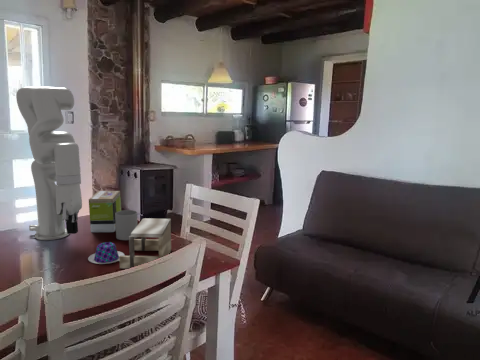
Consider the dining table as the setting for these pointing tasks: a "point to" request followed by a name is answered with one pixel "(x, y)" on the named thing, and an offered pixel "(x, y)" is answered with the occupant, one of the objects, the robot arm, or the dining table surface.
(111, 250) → the pudding
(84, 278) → the dining table surface
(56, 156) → the robot arm
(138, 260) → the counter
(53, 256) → the dining table surface
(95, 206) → the tea box
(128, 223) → the cup
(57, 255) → the dining table surface
